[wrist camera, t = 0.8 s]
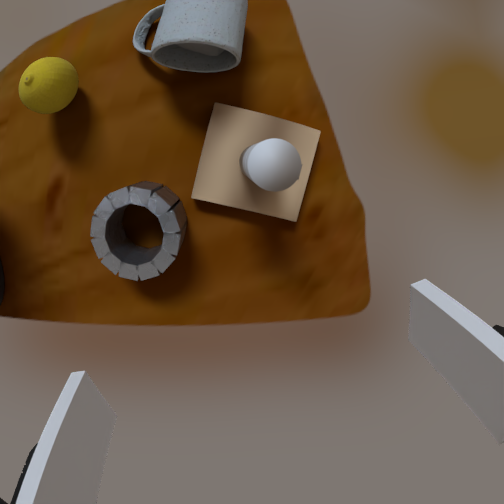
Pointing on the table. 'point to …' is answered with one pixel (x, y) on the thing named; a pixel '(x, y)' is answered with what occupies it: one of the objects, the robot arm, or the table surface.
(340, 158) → the table surface
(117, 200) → the ring
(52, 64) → the lemon
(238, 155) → the shaft stand
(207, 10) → the ceramic mug
